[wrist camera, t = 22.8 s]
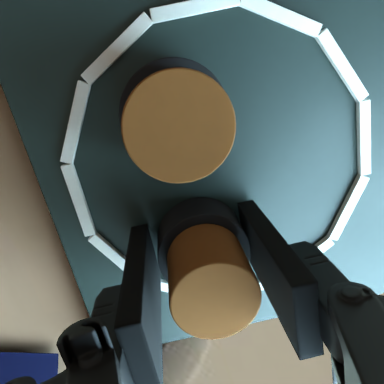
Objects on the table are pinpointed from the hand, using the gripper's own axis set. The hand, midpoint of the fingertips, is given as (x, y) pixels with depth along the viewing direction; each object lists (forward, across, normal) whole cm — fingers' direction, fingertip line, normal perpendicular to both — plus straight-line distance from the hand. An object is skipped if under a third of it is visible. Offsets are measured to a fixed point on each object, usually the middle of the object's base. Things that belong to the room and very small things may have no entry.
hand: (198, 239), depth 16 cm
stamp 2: (0, 0, 0) cm, 0 cm away
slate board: (+1, +2, +3) cm, 4 cm away
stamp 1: (0, 0, +6) cm, 6 cm away
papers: (+2, -25, -15) cm, 29 cm away
